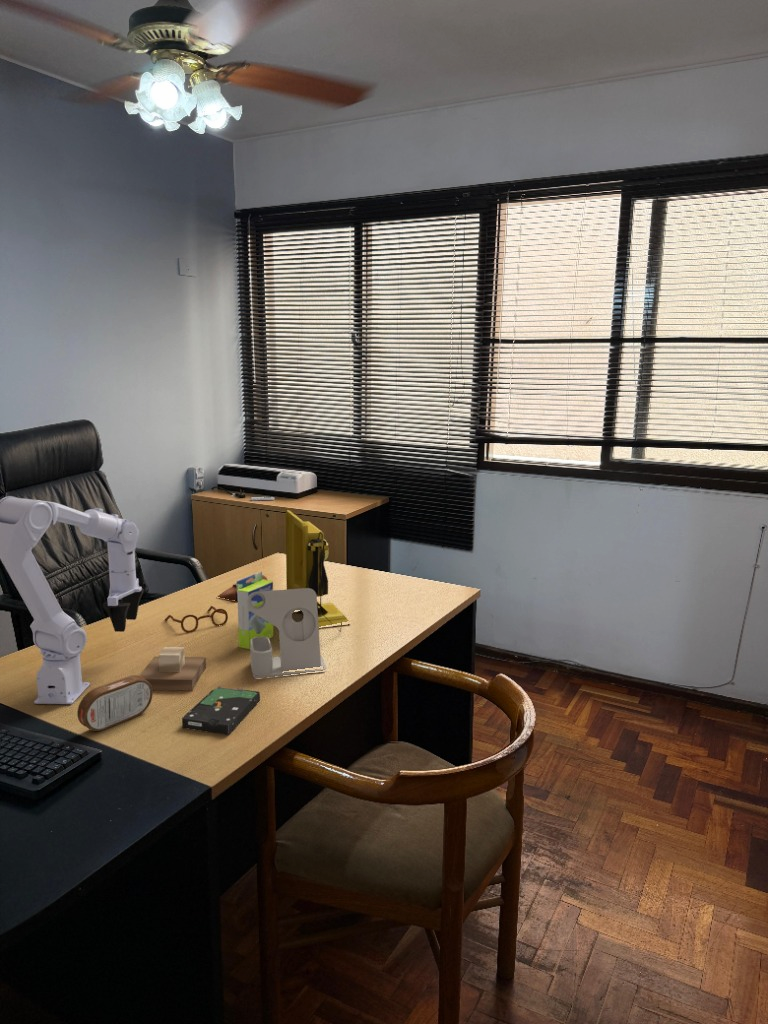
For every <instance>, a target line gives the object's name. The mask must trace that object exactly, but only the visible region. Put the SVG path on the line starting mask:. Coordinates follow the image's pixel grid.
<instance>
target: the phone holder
mask: <svg viewBox="0 0 768 1024" xmlns="http://www.w3.org/2000/svg"><path fill="white" fill-rule="evenodd" d="M255 595H259V596H261V597H262V599H263V603H262V605H261V606H259V607H254V606H253V605H252V604H251V599H252V597H253V596H255ZM317 601H318V597H317V595H316V593H315V591H314V590H313V589H310V588H302V589H287V588H286V589H276V590H274V589H273V591H260V592H253V593H251V594H250V595H249V596H248V599H247V607H248V609H249V611H251V612H252V613H254V614H256V615H257V616H259V617H261V618H262V619H264V620H266V621H267V622H269V623H271V624H272V625H273V627H276V628H277V629H278V636H279V637H278V640H279V655H280V656H273V647H272V644H271V643H272V642H271V641H270V639H268V638H267V637H255V638H253V639H251V641H250V649H249V650H250V667H251V674H252V673H253V674H252V678H253V677H254V678H253V679H255V678H266V679H268V678H267V677H275V676H283V675H291V674H300V673H306V672H315V671H323V670H325V669H326V668H327V665H326V663H325V661H324V659H323V655H322V654H321V644H320V643H321V642H320V631H319V630H320V629H319V626H318V610H317ZM295 610H300V611H302V612H301V613H302V615H303V614H304V618H303V617H302V620H301V621H295V620H294V619H293V613H295V612H294V611H295ZM320 666H323V669H315V670H305V671H295V672H284V673H282V672H283V671H289V670H297V669H305V668H313V667H320ZM327 669H328V668H327Z"/></svg>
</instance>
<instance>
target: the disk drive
mask: <svg viewBox="0 0 768 1024" xmlns="http://www.w3.org/2000/svg"><path fill="white" fill-rule="evenodd" d="M259 701H260V702H261V693H260V691H256V690H249V689H243V688H237V689H235V688H225V687H222V686H217V687H215V688H213V689H212V690H211V691H209V692H208V693H207V694H206V695H205V696H204V697H203V698H202V699H201V700H200V701H199V702H197V703H196V705H194V706H193V707H192V708H191V709H190V710H189V711H188V712H186V714H185V715H184V716H183V717H182V718H181V722H182V723H181V725H182V727H181V728H182V729H186V728H189V729H188V730H192V729H195V730H194V731H199V730H201V732H205V731H207V732H206V733H214V734H217V735H218V734H219V735H225V736H230V735H231V734H232V733H233V732H234V731H235V730H236V728H237V727H238V726H239V725H240V724H241V723H242V722H241V721H244V719H245V718H246V717H247V716H248V715H249V714H250V713H251V712H252V711H253V709H255V708H256V706H257V705H258V704H259V703H260V702H259ZM258 702H259V703H258ZM257 703H258V704H257ZM254 707H255V708H254ZM251 710H252V711H251ZM250 711H251V712H250ZM249 712H250V713H249ZM240 722H241V723H240Z"/></svg>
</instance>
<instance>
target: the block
mask: <svg viewBox="0 0 768 1024" xmlns="http://www.w3.org/2000/svg"><path fill="white" fill-rule="evenodd" d="M158 657H159V671H160V672H180V671H181V669H182V668H183V666H184V664H185V657H186V655H185V647H184V646H182V647H181V646H180V647H179V646H176V647H175V646H171V647H169V646H166V647H165V646H164V647H163V648H162V650H161V651H160V653H159V654H158Z"/></svg>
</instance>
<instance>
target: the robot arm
mask: <svg viewBox="0 0 768 1024" xmlns="http://www.w3.org/2000/svg"><path fill="white" fill-rule="evenodd" d="M57 522H59V523H62V524H68V525H71V526H74V527H78V530H79V532H80V533H81V534H83V535H85V536H89V537H92V538H96V539H100V540H102V541H104V542H106V544H107V557H108V572H109V573H108V574H109V589H108V590H109V593H108V597H107V598H106V599H107V601H104V602H103V603H102V607H103V609H104V610H105V612H106V613H107V615H108V617H109V618H110V621H111V624H112V627H113V631H114V632H118V633H120V632H121V633H122V632H125V631H126V624H127V620H129V621H132V620H133V621H136V620H137V616H138V613H139V612H138V611H139V607H140V606H139V605H140V601H141V599H142V597H143V594H144V592H145V589H144V588H142V586H140V585H139V583H140V581H139V578H137V573H136V572H137V571H136V557H135V555H136V554H135V553H136V552H135V551H136V549H137V541H138V539H139V536H140V529H138V525H136V523H135V522H134V521H133V520H131V519H127V518H126V519H125V518H120V517H119V515H118V514H115V513H111V514H110V513H109V514H108V513H106V512H104V509H103V508H100V507H94V508H91V509H87V510H84V512H83V511H81V510H78V509H75V508H72V507H70V506H66V505H64V504H61V503H58V502H54V501H46V500H40V499H33V498H32V499H31V498H23V497H22V498H19V497H16V496H12V495H8V496H5V497H3V498H1V499H0V561H1V563H2V564H3V566H4V569H5V571H6V572H7V573H8V575H9V577H10V579H11V580H12V582H13V584H14V586H15V587H16V590H17V591H18V593H19V595H20V597H21V598H22V600H23V603H24V604H25V605H26V607H27V609H28V611H29V614H31V617H32V618H33V621H32V623H31V624H30V626H29V627H30V629H31V631H32V641H33V643H34V645H35V647H37V648H38V649H40V650H39V651H40V655H42V665H41V666H40V668H39V670H38V671H37V673H36V677H35V678H36V688H37V689H36V690H37V698H36V699H35V700H34V701H33V702H34V704H39V705H40V704H41V705H42V704H43V705H44V704H47V705H72V704H73V703H75V701H77V699H78V698H79V697H80V696H81V695H82V694H83V693H84V691H85V690H86V689H87V688H88V687H89V686H90V683H91V682H88V681H84V682H83V678H82V665H81V654H83V650H85V647H86V645H87V641H88V640H87V639H88V638H87V632H86V631H85V630H84V629H83V628H82V627H81V626H79V625H78V624H77V622H76V621H75V619H74V618H72V617H71V616H70V615H68V614H67V613H66V612H64V611H63V609H62V608H61V605H60V604H59V601H58V600H57V598H56V596H55V594H54V591H53V590H52V588H51V585H50V584H49V582H48V580H47V579H46V576H45V574H44V573H43V571H42V569H41V567H40V565H39V563H38V562H37V560H36V557H35V556H34V554H33V552H32V550H33V548H35V547H36V545H37V544H38V543H39V542H40V540H41V538H42V537H43V536H44V534H45V533H46V532H47V530H48V529H49V527H50V526H51V525H52V526H54V525H56V523H57Z"/></svg>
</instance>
